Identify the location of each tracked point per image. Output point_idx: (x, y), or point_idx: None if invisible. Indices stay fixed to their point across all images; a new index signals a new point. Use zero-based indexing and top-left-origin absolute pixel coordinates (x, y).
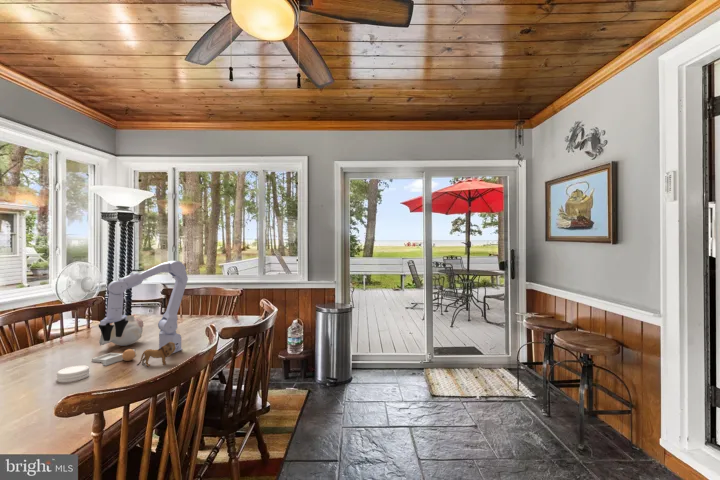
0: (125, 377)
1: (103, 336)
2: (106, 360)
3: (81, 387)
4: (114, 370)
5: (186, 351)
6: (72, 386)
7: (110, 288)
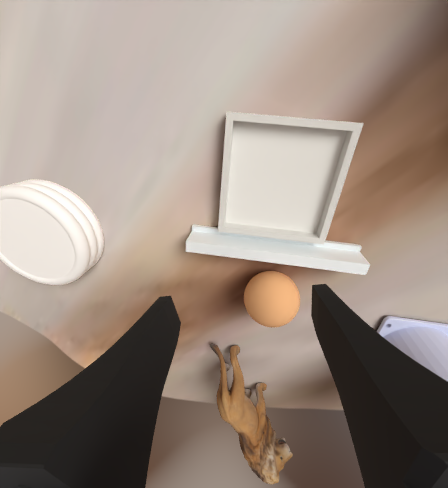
0: None
1: (139, 324)
2: (192, 249)
3: (37, 310)
4: None
5: None
6: (25, 285)
7: None
